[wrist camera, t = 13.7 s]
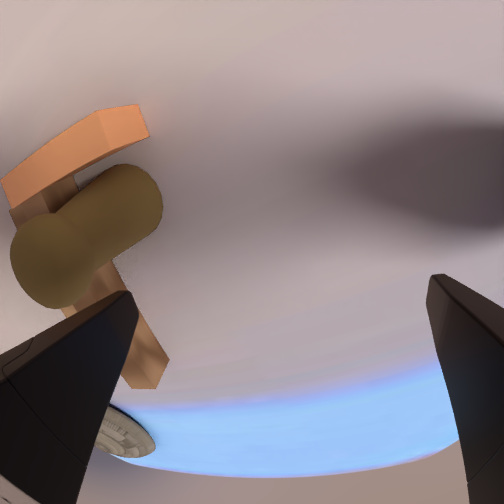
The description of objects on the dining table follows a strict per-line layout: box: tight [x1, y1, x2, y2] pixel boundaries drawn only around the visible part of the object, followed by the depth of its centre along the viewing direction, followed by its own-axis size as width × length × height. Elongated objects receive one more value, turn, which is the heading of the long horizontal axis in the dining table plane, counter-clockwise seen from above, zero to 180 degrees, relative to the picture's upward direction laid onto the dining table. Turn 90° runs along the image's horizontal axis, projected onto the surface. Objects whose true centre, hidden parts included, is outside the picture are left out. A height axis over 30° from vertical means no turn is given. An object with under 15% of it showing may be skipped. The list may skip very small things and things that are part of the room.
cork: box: [10, 164, 163, 309], centre depth 18 cm, size 6×6×11 cm
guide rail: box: [0, 104, 169, 389], centre depth 24 cm, size 22×17×5 cm
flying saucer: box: [94, 406, 155, 458], centre depth 39 cm, size 15×15×6 cm
